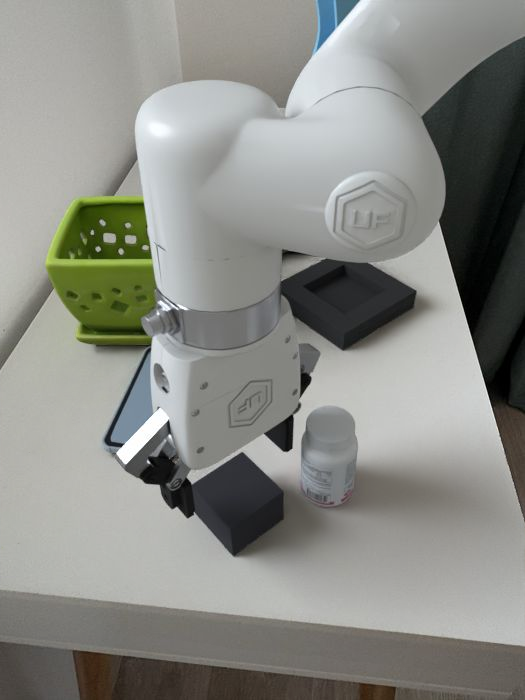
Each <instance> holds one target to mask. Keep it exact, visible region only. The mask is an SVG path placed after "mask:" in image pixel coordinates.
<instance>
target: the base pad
mask: <svg viewBox="0 0 525 700" xmlns="http://www.w3.org/2000/svg"><path fill="white" fill-rule="evenodd" d="M417 291H418V290H416V289H414V288H413V287H411V286H410V285H408V284H406V283H404V282H403V281H401V280H399V279H397V278H396V277H394V276H392V275H390V274H389V273H387V272H385V271H383V270H382V269H380V268H378V267H376V266H374V265H373V264H371V263H356V262H346V261H338V260H332V259H327V258H323V259H322V260H320V261H318V262H316V263H314V264H312V265H310V266H308V267H306V268H305V269H302V270H300V271H298V272H296V273H295V274H292V275H291V276H288V277H286V278H284V279H282V280H281V295H283V296H284V297H285V298H286V299H287V300H288V302H289V304H290V308H291V311H292V315H293V317H295V318H296V319H297V320H299V321H300V322H302V324H304V325H306V326H307V327H308V328H310V329H311V330H313V331H314V332H316V333H317V334H318V335H320V336H321V337H323V338H324V339H326V340H327V341H328V342H330V343H331V344H333V345H334V346H335V347H337V348H338V349H339V350H341V351H345V350H347V349H348V348H350V347H352V346H353V345H355V344H357V343H358V342H360V341H361V340H363V339H365V338H366V337H368V336H370V335H371V334H373V333H375V332H376V331H378V330H380V329H381V328H383V327H384V326H386V325H387V324H389V323H391V322H392V321H394V320H396V319H397V318H399V317H401V316H402V315H404V314H405V313H407V312H409V311H410V310H412V309H414V308H415V302H416V297H417Z"/></svg>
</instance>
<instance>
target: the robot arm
mask: <svg viewBox="0 0 525 700" xmlns="http://www.w3.org/2000/svg"><path fill="white" fill-rule="evenodd" d="M524 37H525V0H360V1H359V2H358V3H357V5H356V6H355V7H354V8H353V10H352V11H351V12H350V13H349V14H348V15H347V16H346V18H345V19H344V20H343V21H342V22H341V23H340V25H339V26H338V27H337V28H336V29H335V30H334V32H333V33H332V34H331V35H330V36H329V37H328V39H327V40H326V41H325V42H324V43H323V45H322V46H321V47H320V48H319V49H318V51H317V52H316V53H315V54H314V55H313V57H312V56H311V57H312V58H311V57H310V59H309V61H308V62H307V63H306V64H305V66H304V67H303V69H302V70H301V72H300V74H299V75H298V77H297V79H296V81H295V83H294V85H293V87H292V89H291V91H290V93H289V96H288V98H287V101H286V106H285V111H284V114H283V113H282V111H281V110H280V108H279V106H278V105H277V103H276V102H275V100H274V99H273V98H272V97H271V96H270V95H269V94H267V93H266V92H265V91H263V90H261V89H260V88H258V87H256V86H253V85H250V84H247V83H243V82H237V81H232V80H224V79H200V80H199V79H198V80H192V81H191V80H190V81H185V82H180V83H176V84H173V85H169V86H167V87H163V88H162V89H160V90H157V91H156V92H154V93H153V94H151V95H150V96H149V97H148V98H147V99H145V101H144V102H143V103H142V104H141V106H140V108H139V110H138V112H137V114H136V118H135V121H134V122H135V123H134V139H135V149H136V155H137V163H138V170H139V177H140V183H141V191H142V196H143V198H144V205H145V212H146V219H147V226H148V227H147V233H148V237H149V240H150V247H151V254H152V261H153V268H154V275H155V280H156V289H155V290H154V294H155V301H156V306H155V308H154V309H152V310H151V313H150V314H148V315H145V316H143V317H141V323H142V326H143V328H144V330H145V332H146V333H147V335H148V336H149V337H151V338H152V337H153V338H152V345H151V346H152V347H151V365H150V379H151V397H152V406H153V414H154V415H153V416H152V417H151V418H150V419H149V420H148V421H147V422H146V423H145V424H144V425H143V426H142V427H141V428H140V429H139V430H138V431H137V432H136V433H135V434H134V435H133V436H132V438H131V439H130V440H129V441H128V442H127V443H126V444H125V445H124V446H123V447H122V448H121V449H120V450H119V451H118V452H117V453H115V455H114V458H115V460H116V461H117V463H118V464H119V465H120V466H121V467H122V469H123V470H124V472H126V473H128V474H129V475H131V476H133V477H135V478H137V479H139V480H141V481H142V482H143V484H145V485H153V486H159V490H160V495H161V498H162V499H163V501H164V503H165V504H166V505H167V506H168V508H170V509H171V510H174V509H176V508H178V510H179V511H180V512H181V513H182V515H183V516H184V517H185V518H186V519H188V520H189V519H190V518H191V517H193V516H194V515H195V506H194V498H193V491H192V484H193V483H192V481H190V480H189V478H188V475H189V474H190V472H191V470H193V471H199V470H203V469H206V468H209V467H212V466H214V465H216V464H217V463H219V462H221V461H222V460H225V459H226V458H227V457H229V456H231V455H233V454H234V453H235V452H237V451H239V450H240V449H242V448H244V447H245V446H247V445H248V444H250V443H251V442H254V440H256V439H258V438H259V437H262V435H264V436H265V437H266V438H268V439H269V440H270V442H272V443H273V444H274V445H275V446H276V447H277V448H278V449H280V450H281V452H283V453H288V452H290V451H292V450H293V449H294V425H295V423H294V422H295V418H294V415H296V414H298V413H299V411H300V410H301V409H302V405H303V404H302V403H301V401H300V400H301V398H302V397H303V395H304V394H305V392H306V390H307V389H308V387H309V386H310V385H311V384H312V380H313V378H312V376H311V374H312V373H314V370H315V369H316V366H317V364H318V361H319V359H320V357H321V353H322V352H321V351H320V350H319V349H317V348H316V347H315V346H313V345H312V344H311V343H309V342H306V343H305V342H304V343H303V342H302V343H299V339H298V332H297V329H296V328H297V327H296V323H295V319H294V316H293V315H292V311H291V308H290V304H289V302H288V300H287V299H286V298H285V297H284V296H283V295H281V281H282V280H283V279H282V272H283V271H282V270H283V269H282V268H283V253H282V249H284V250H289V251H288V252H294V253H300V254H304V255H309V256H313V257H317V258H318V257H319V258H323V259H326V258H327V259H332V260H338V261H346V262H356V263H369V264H371V263H380V262H385V261H390V260H394V259H397V258H399V257H402V256H404V255H406V254H408V253H409V252H412V251H413V250H415V249H416V248H418V247H419V246H420V245H422V244H423V243H424V242H425V241H426V240H427V238H429V236H430V235H431V234H432V233H433V231H434V229H435V228H436V227H437V226H438V224H439V221H440V219H441V217H442V213H443V211H444V207H445V201H446V192H447V191H446V187H447V186H446V177H445V171H444V169H443V168H444V167H443V165H442V161H441V158H440V155H439V153H438V150H437V149H436V146H435V144H434V142H433V140H432V138H431V136H430V134H429V132H428V129H427V127H426V125H425V123H424V120H423V118H422V117H423V116H424V115H425V114H426V113H427V112H428V111H429V110H430V109H431V108H432V107H433V106H434V105H435V104H436V103H437V102H438V101H439V100H441V98H442V97H443V96H444V95H445V94H446V93H447V92H448V91H449V90H451V88H453V86H455V85H456V84H457V83H458V82H460V80H462V79H463V78H464V77H465V76H466V75H467V74H468V73H469V72H470V71H471V72H472V70H473V69H474V68H476V67H477V66H479V65H480V64H481V63H482V62H483V61H485V60H487V59H488V58H489V57H491V56H493V55H494V54H495V53H497V52H498V51H500V50H502V49H504V48H505V47H507V46H509V45H510V44H512V43H514V42H516V41H518V40H520V39H522V38H524ZM174 449H175V450H176V451H177V453H176V454H177V456H178V458H177V460H176V462H174V461H173V460H172V459H171V458H169V457H170V455H171V454H172V452H173V450H174ZM154 450H155V451H154ZM153 451H154V453H153V454H152V452H153ZM151 454H152V456H150V455H151Z"/></svg>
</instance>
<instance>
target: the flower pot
mask: <svg viewBox="0 0 525 700" xmlns="http://www.w3.org/2000/svg"><path fill="white" fill-rule="evenodd" d="M100 221H103V222H104V223H105V224H104V225H103V224H102V223H101V222H100ZM126 224H130V226H129V227H127V225H126ZM56 229H57V230H56V232H55V234H54V236H53V238H52V241H51V243H50V246H49V249H48V251H47V255H46V259H45V263H44V266H45V268H46V272H47V274H48V277H49V279H50V282H51V283H52V286H53V288H54V290H55V292H56V295H57V296H58V298H59V299H60V301H61V302H62V304H63V305H64V307H65V308H66V309H67V310H68V312H69V313H70V315H72V316H73V317H74V318H75V319H76V320H77V321H78V326H77V329H76V331H75V339H76V340H77V341H79V342H81V343H83V344H86V345H95V346H97V345H98V346H152V338H153V337H152V338H151V337H149V336H148V335H147V333H146V332H145V330H144V328H143V326H142V323H141V317H143V316H145V315H148V314H150V313H151V310H152V309H154V308H155V306H156V301H155V294H154V290H155V289H156V280H155V275H154V268H153V261H152V254H151V247H150V240H149V233H148V226H147V219H146V212H145V205H144V198H143V195H98V196H80V197H76V198H74V199H73V200H72V201H71V203H70V205H69V206H68V208H67V210H66V212H65V213H64V215H63V217H62V219H61V220H60V223H59V225H58V227H57V228H56ZM91 231H92V232H93V234H92V232H91ZM104 234H113V235H115V242H107V241H104ZM127 236H132V237H135V240H136V241H135V242H134V243H129V242H128V243H127V242H126V237H127ZM144 246H147V247H148V248H147V249H143V247H144ZM97 247H99V248H100V250H99V251H97V249H96V248H97ZM119 250H122V251H123V252H122V254H121V253H120V252H119Z"/></svg>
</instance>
